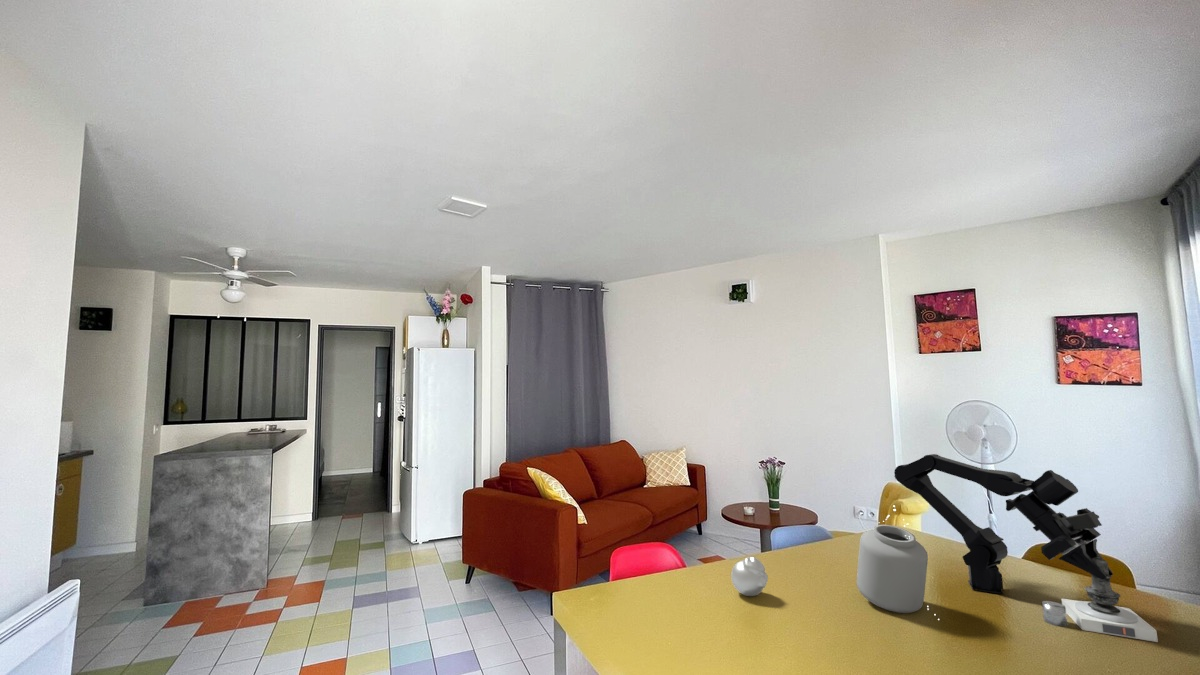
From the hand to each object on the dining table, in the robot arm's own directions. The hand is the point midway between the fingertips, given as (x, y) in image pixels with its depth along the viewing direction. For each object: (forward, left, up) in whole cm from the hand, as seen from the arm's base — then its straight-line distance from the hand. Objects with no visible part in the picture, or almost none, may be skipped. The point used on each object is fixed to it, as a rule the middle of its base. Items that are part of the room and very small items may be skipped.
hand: (1108, 576), depth 112 cm
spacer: (-11, -3, -11) cm, 16 cm away
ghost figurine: (-77, -19, -11) cm, 80 cm away
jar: (-43, -10, -11) cm, 46 cm away
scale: (-1, +1, -11) cm, 11 cm away
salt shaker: (-1, +1, -7) cm, 8 cm away
